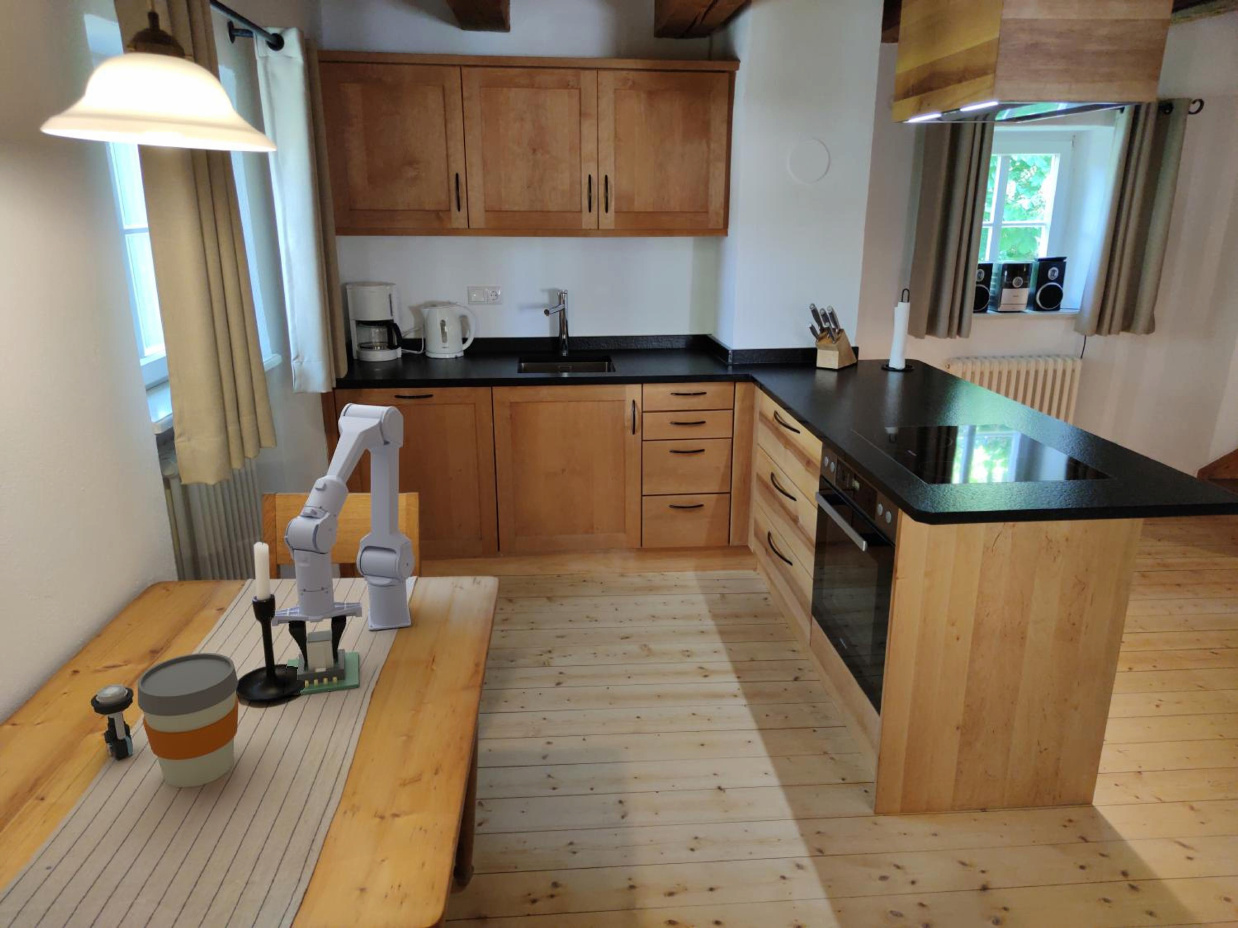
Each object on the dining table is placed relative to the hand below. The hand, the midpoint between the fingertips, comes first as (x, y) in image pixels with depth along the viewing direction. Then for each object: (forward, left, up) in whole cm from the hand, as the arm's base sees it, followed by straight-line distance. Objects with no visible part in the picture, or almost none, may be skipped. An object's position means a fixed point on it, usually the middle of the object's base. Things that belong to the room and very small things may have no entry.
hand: (321, 657), depth 145 cm
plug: (0, 0, -2) cm, 2 cm away
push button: (+15, -28, -3) cm, 32 cm away
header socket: (0, 0, -3) cm, 3 cm away
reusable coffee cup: (+23, -16, -3) cm, 28 cm away
